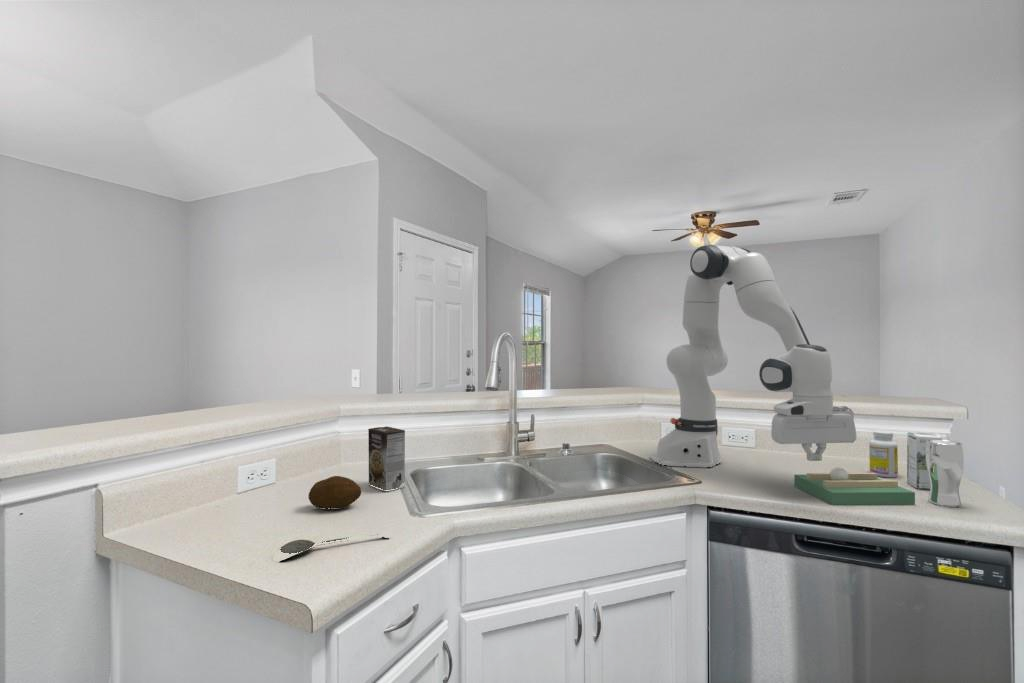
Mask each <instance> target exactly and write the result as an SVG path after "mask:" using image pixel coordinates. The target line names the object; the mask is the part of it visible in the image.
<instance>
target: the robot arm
mask: <svg viewBox="0 0 1024 683" xmlns="http://www.w3.org/2000/svg"><path fill="white" fill-rule="evenodd" d="M689 265H690V271H691V272H690V273H689V275H688V277H687V280H686V283H685V289H684V296H683V308H682V310H683V311H682V327H683V330H685V331H686V333H687V336H688V341H689V343H688V344H681V345H679V346H676V347H674V348H672V349H670V350H669V352H668V354H667V356H666V366H667V369H668V371H669V372H670V373H671V374H672V375H673V377H674V378H675V382H676V385H677V387H678V392H679V399H680V400H679V403H680V417H679V418H677V419H676V418H675V417H671V419H670V423H671V424H672V425H674V429H672V430H671V431H670V432H668V433H667V434H666V435H665V436H663V437H661V438H660V439H659V441H658V444H657V450H656V453H655V452H653V453H650V457H649V458H650V460H651V461H652V460H653V461H652V462H654V461H655V462H657V463H660V464H663V465H662V466H664V465H667V467H684V466H686V468H687V467H688V468H707V467H711V468H713V467H715V466H717V465H716V464H718V465H720V464H721V463H722V462H721V461H722V458H721V456H720V451H719V445H718V438H717V436H718V430H719V428H718V419H717V416H716V415H717V412H716V411H717V404H716V402H717V399H716V394H715V393H714V392H713V390H712V389H711V387H710V384H709V379H708V377H711V376H712V377H713V376H715V375H717V374H720V373H722V372H723V371H724V370H725V369H726V368H727V366H728V362H729V361H728V360H729V358H728V354H727V353H726V351H725V349H724V348H723V346H722V340H721V337H720V331H719V316H720V315H719V312H720V294H721V289H722V287H723V286H724V285H725V284H726V285H728V286H732V285H733V287H734V288H733V289H734V291H735V295H736V299H737V302H738V306H739V307H740V309H741V310H742V312H743V313H744V314H745V315H746V316H747V317H749V318H751V319H753V320H756V321H759V322H761V323H764V324H765V325H768V326H770V327H771V328H773V329H774V330H775V331H776V332H777V334H778V336H779V337H780V338H781V342H782V344H783V346H784V347H785V350H786V352H785V353H782V354H780V355H776V356H774V357H771V358H768V359H766V360H764V361H763V362H762V363H761V365H760V367H759V371H758V372H759V374H758V375H759V380H760V382H761V384H762V386H764V388H765V389H766V390H768V391H770V392H775V393H776V392H777V393H783V392H786V393H787V392H788V393H792V398H791V399H789V400H786V401H783V402H779V403H777V404H775V405H774V406H773V412H774V413H776V414H774V416H773V417H772V419H771V420H772V421H771V430H770V431H771V435H770V436H771V439H772V441H773V442H774V443H777V444H779V445H780V444H781V445H794V444H795V445H797V444H798V445H799V444H801V448H802V449H803V450H804V451H805V453H806V460H807V461H810V462H813V461H815V462H816V461H817V462H818V461H819V462H820V461H823V454H824V453H825V451H826V449H827V444H849V443H851V444H853V443H854V442H855V441H857V430H856V425H855V420H854V419H855V415H854V411H853V410H852V408H849V407H848V406H843V405H842V406H836V405H835V406H834V401H833V400H834V399H833V398H834V396H833V392H832V388H831V384H832V381H833V376H832V375H833V372H832V360H831V357H830V356H831V355H830V354H829V351H828V349H826V348H825V347H824V346H821V345H816V344H810V342H809V339H808V337H807V334H806V332H805V331H804V328H803V325H802V324H801V321H800V320H799V318H798V316H797V314H796V313H795V311H794V310H793V308H792V307H791V306H790V305H789V303H788V302H787V301H786V300H785V298H784V296H783V294H782V292H781V290H780V287H779V285H778V282H777V280H776V277H775V274H774V271H773V270H772V267H771V265H770V263H769V262H768V260H767V258H766V257H765V256H764V255H763V254H762V253H760V252H755V251H754V252H752V251H751V250H748V249H746V248H743V247H737V246H732V245H715V244H706V245H702V246H698V247H697V248H696V249H695V250H694V252H693V253H692V255H691V257H690V261H689ZM813 444H815V446H816V450H815V452H813V451H812V447H813ZM655 462H654V463H655ZM657 463H656V464H657ZM719 463H720V464H719ZM660 464H659V465H660ZM712 466H713V467H712Z"/></svg>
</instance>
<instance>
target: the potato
mask: <svg viewBox="0 0 1024 683" xmlns="http://www.w3.org/2000/svg"><path fill="white" fill-rule="evenodd" d="M361 488H362V487H361V486H360V485H358V483H357V482H355V481H354V480H352V479H350V478H348V477H346V476H342V475H341V476H340V475H334V476H330V477H328V478H325V479H321V480H319V481H317V482H315V483H314V484H313V485H312V486H311V488H310V489H309V490H310V491H309V492H308V497H307V498H308V500H309V502H310V504H311V505H312V506H314V507H316V508H317V507H318V508H317V509H320V508H325V509H324V510H332V509H331V508H342V509H345V508H347V507H348V506H349V507H350V506H351V505H352V504H353V503H355V502H356V501H357V500H358V499H359V498H360V497H361V496H362V495H361V494H362V489H361ZM344 507H345V508H344ZM328 508H330V509H328Z"/></svg>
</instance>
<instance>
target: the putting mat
mask: <svg viewBox="0 0 1024 683" xmlns="http://www.w3.org/2000/svg"><path fill="white" fill-rule="evenodd" d="M847 473H848V480H832V479H831V477H830V472H808V473H807V472H806V474H794V475H793V476H794V480H793V482H794V483H793V484H794V486H795V487H797V488H798V489H801V490H802V491H805V492H806V493H808V494H811V495H812V496H814V497H816V498H818V499H819V500H822V501H823V502H826V503H828V504H830V505H832V506H862V505H863V506H870V505H875V506H878V505H879V506H882V505H883V506H884V505H887V506H889V505H891V506H904V505H909V506H911V504H915V505H916V492H914V491H912V490H910V489H907V488H905V487H902V486H900V485H899V481H898V480H892V479H891V480H889V479H888V480H885V479H880V478H878V476H877V474H876V473H870V472H847Z"/></svg>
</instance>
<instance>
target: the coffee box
mask: <svg viewBox="0 0 1024 683" xmlns="http://www.w3.org/2000/svg"><path fill="white" fill-rule="evenodd" d="M367 430H368V485H369V484H370V485H373V486H375V487H378V488H381V489H383V490H391V489H396V488H399V487H400V485H401V484H402V483H404V482H405V480H406V479H405V477H406V476H405V474H406V473H405V471H406V469H405V468H406V464H405V463H406V460H405V459H406V458H405V456H406V452H405V451H406V438H405V437H406V431H405V430H406V429H401V428H397V427H391V426H383V427H382V426H380V427H370V428H368V429H367Z"/></svg>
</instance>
